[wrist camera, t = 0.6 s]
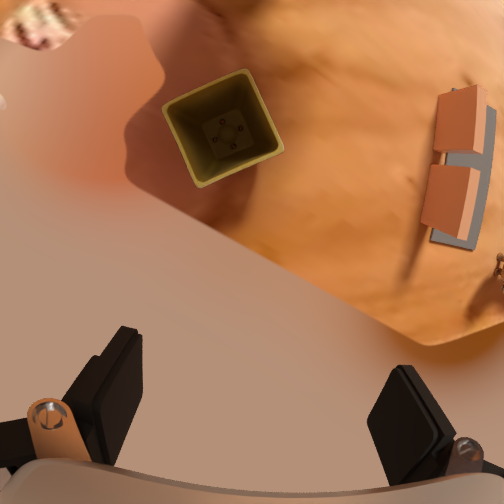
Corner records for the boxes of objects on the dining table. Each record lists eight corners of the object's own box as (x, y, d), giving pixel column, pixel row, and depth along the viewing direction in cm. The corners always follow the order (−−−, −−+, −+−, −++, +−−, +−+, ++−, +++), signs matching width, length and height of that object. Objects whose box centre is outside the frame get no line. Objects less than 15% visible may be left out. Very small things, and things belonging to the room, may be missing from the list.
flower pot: (278, 154, 36) (286, 151, 27) (209, 183, 37) (196, 190, 28) (248, 88, 33) (247, 66, 25) (180, 118, 34) (159, 105, 26)
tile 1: (430, 164, 35) (470, 167, 27) (440, 167, 36) (481, 171, 27) (419, 222, 38) (456, 238, 29) (429, 224, 38) (467, 240, 29)
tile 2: (438, 95, 33) (477, 84, 24) (448, 99, 33) (487, 90, 24) (432, 149, 35) (473, 149, 26) (442, 153, 35) (483, 154, 26)
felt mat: (452, 88, 32) (453, 87, 32) (494, 110, 33) (496, 110, 32) (429, 239, 38) (431, 240, 38) (473, 249, 39) (474, 250, 38)
